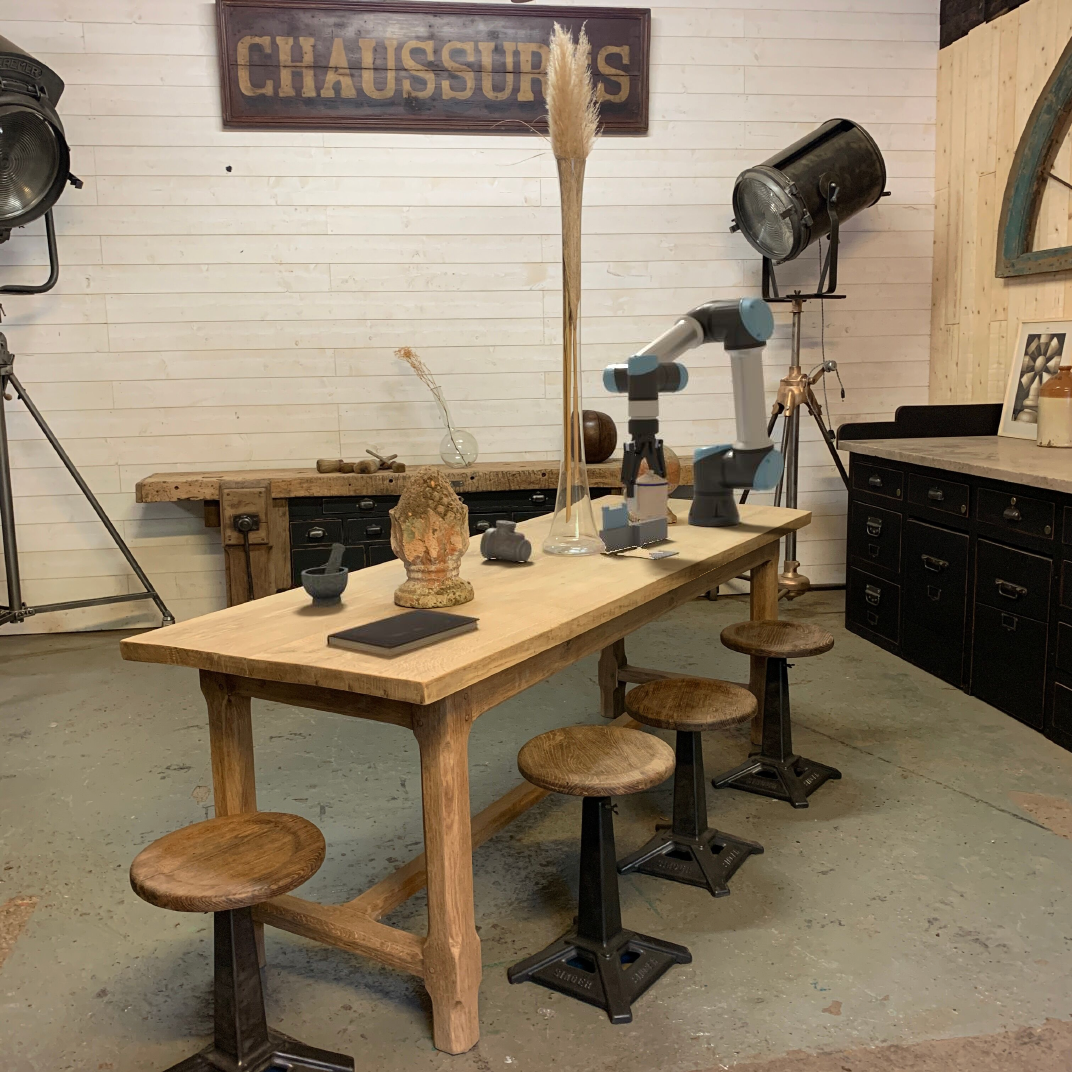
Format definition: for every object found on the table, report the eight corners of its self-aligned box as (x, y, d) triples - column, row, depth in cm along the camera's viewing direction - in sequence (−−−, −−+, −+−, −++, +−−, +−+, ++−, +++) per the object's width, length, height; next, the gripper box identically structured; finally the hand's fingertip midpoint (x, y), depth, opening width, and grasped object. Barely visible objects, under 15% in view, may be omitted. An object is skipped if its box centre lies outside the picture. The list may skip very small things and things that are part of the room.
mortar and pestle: (329, 610, 210) (325, 552, 208) (293, 606, 214) (289, 549, 212) (363, 598, 220) (360, 542, 218) (328, 595, 224) (324, 540, 222)
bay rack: (660, 538, 283) (660, 516, 282) (713, 543, 272) (713, 521, 271) (599, 553, 263) (599, 530, 262) (654, 560, 252) (654, 535, 251)
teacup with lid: (675, 515, 258) (674, 469, 256) (657, 520, 251) (656, 472, 249) (633, 513, 265) (633, 467, 263) (614, 517, 258) (614, 470, 256)
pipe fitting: (476, 559, 257) (480, 519, 256) (496, 557, 264) (500, 517, 262) (514, 569, 251) (519, 528, 249) (534, 566, 257) (538, 526, 256)
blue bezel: (625, 525, 270) (625, 502, 269) (629, 525, 269) (629, 502, 268) (602, 530, 262) (601, 506, 261) (605, 530, 261) (605, 507, 260)
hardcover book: (479, 630, 192) (479, 618, 192) (390, 660, 174) (389, 647, 174) (417, 619, 202) (417, 608, 201) (327, 646, 184) (326, 634, 183)
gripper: (656, 415, 265) (656, 503, 268) (604, 420, 249) (605, 512, 252) (680, 416, 260) (681, 504, 263) (629, 420, 244) (630, 514, 247)
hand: (644, 508), depth 258 cm, fingers closed on teacup with lid, 9 cm apart
